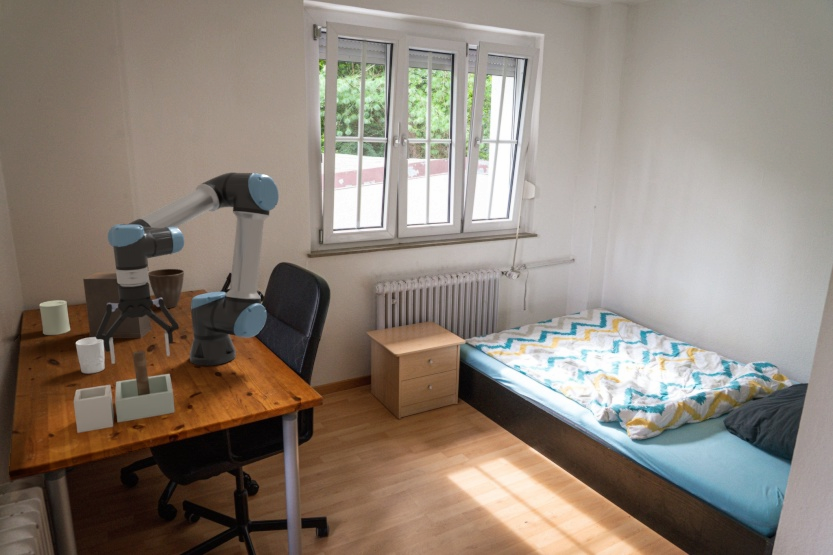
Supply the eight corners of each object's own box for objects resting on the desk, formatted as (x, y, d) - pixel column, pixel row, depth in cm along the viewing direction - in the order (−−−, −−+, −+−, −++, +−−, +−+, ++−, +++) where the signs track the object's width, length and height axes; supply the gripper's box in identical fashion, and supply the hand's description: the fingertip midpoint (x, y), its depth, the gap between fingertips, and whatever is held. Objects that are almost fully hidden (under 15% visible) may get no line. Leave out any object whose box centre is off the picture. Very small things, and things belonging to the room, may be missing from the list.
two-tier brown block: (155, 326, 232) (147, 241, 224) (141, 337, 218) (132, 248, 210) (107, 326, 231) (97, 241, 223) (89, 338, 217) (78, 247, 209)
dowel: (151, 403, 162) (144, 350, 158) (151, 407, 159) (145, 353, 155) (139, 405, 160) (132, 351, 157) (139, 409, 158) (132, 355, 154)
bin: (171, 395, 169) (169, 373, 167) (175, 415, 157) (172, 392, 155) (118, 404, 163) (116, 381, 161) (117, 425, 151) (115, 401, 149)
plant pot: (180, 300, 271) (177, 267, 268) (191, 307, 260) (188, 272, 257) (147, 305, 262) (143, 271, 258) (156, 312, 251) (153, 277, 247)
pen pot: (114, 416, 156) (110, 384, 153) (113, 429, 149) (109, 396, 146) (80, 422, 152) (76, 389, 150) (78, 436, 145) (73, 401, 143)
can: (68, 333, 222) (64, 304, 219) (40, 336, 219) (36, 306, 216) (72, 326, 231) (68, 298, 228) (45, 329, 227) (41, 300, 224)
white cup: (76, 375, 183) (72, 346, 180) (83, 366, 190) (79, 338, 188) (103, 373, 185) (99, 344, 183) (109, 364, 192) (106, 336, 190)
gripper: (78, 291, 143) (88, 370, 148) (184, 281, 154) (191, 355, 159) (80, 284, 150) (90, 360, 154) (182, 276, 160) (188, 347, 165)
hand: (141, 358), depth 156 cm, fingers open, 13 cm apart
